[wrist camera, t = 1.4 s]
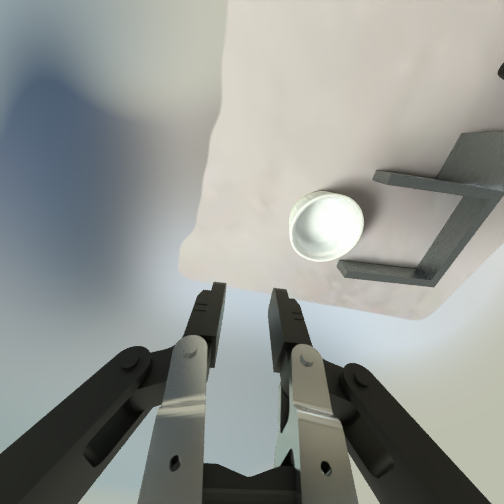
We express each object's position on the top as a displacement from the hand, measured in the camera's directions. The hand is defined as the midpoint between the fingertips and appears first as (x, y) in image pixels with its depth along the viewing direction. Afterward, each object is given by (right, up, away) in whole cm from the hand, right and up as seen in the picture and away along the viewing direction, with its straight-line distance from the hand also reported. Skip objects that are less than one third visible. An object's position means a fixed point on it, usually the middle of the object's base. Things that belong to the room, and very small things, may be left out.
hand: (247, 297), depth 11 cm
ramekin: (+9, +7, +16) cm, 20 cm away
